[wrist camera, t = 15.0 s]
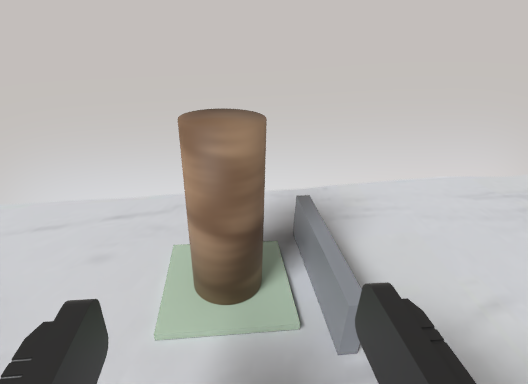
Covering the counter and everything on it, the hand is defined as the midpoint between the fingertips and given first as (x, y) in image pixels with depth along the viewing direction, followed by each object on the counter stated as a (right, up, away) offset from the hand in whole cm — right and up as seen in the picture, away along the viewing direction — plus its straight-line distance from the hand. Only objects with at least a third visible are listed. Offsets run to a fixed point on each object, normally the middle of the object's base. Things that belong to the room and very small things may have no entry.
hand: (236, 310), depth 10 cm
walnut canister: (-2, -3, +14) cm, 14 cm away
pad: (-2, -3, +14) cm, 14 cm away
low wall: (+5, -3, +15) cm, 16 cm away
